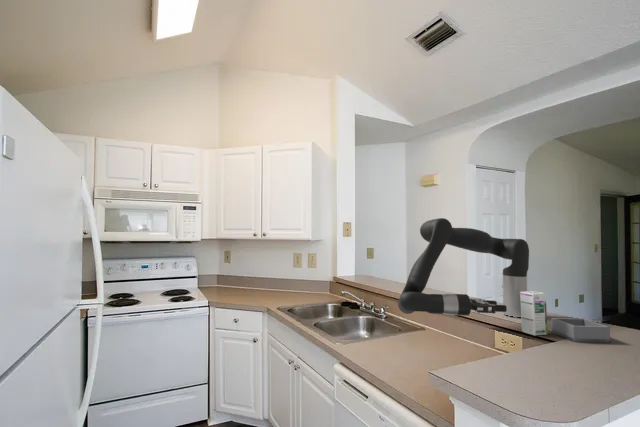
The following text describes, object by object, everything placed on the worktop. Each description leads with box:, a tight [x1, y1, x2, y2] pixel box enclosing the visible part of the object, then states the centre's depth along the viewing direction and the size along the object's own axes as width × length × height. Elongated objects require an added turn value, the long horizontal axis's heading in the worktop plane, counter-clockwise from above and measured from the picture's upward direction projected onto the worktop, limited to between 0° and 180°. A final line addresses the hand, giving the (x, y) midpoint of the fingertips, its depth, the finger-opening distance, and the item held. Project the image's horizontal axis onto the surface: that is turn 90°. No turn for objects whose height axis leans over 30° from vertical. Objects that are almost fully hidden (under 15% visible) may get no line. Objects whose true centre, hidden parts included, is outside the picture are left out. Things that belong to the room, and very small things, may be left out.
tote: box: [550, 317, 611, 344], centre depth 121 cm, size 12×12×5 cm
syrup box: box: [520, 290, 548, 337], centre depth 125 cm, size 6×6×14 cm
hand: (501, 306), depth 126 cm, fingers open, 8 cm apart
